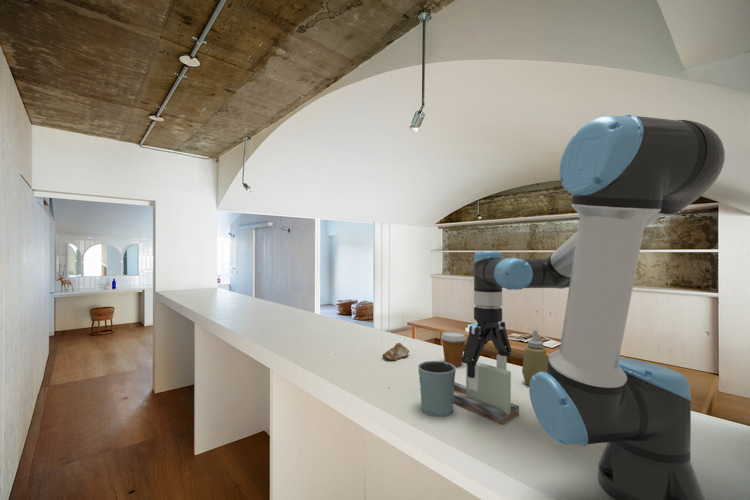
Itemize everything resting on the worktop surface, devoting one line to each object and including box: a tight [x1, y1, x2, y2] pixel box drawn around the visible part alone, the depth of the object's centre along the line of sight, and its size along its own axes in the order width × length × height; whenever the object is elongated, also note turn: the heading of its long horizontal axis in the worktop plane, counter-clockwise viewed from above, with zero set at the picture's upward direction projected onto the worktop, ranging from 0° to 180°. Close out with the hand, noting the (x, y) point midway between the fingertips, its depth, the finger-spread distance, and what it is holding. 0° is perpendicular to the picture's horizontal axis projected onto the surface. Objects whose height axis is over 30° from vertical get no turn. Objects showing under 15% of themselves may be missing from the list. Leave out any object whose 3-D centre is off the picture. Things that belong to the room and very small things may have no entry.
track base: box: [453, 381, 520, 425], centre depth 99 cm, size 24×8×2 cm, turn 39°
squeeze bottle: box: [521, 329, 548, 386], centre depth 114 cm, size 8×8×18 cm
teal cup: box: [418, 360, 457, 417], centre depth 95 cm, size 10×10×12 cm
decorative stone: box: [382, 342, 410, 362], centre depth 144 cm, size 10×4×15 cm
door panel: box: [465, 361, 512, 415], centre depth 95 cm, size 12×3×11 cm, turn 39°
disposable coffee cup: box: [440, 331, 467, 368], centre depth 134 cm, size 10×10×12 cm
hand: (487, 383), depth 95 cm, fingers open, 13 cm apart
